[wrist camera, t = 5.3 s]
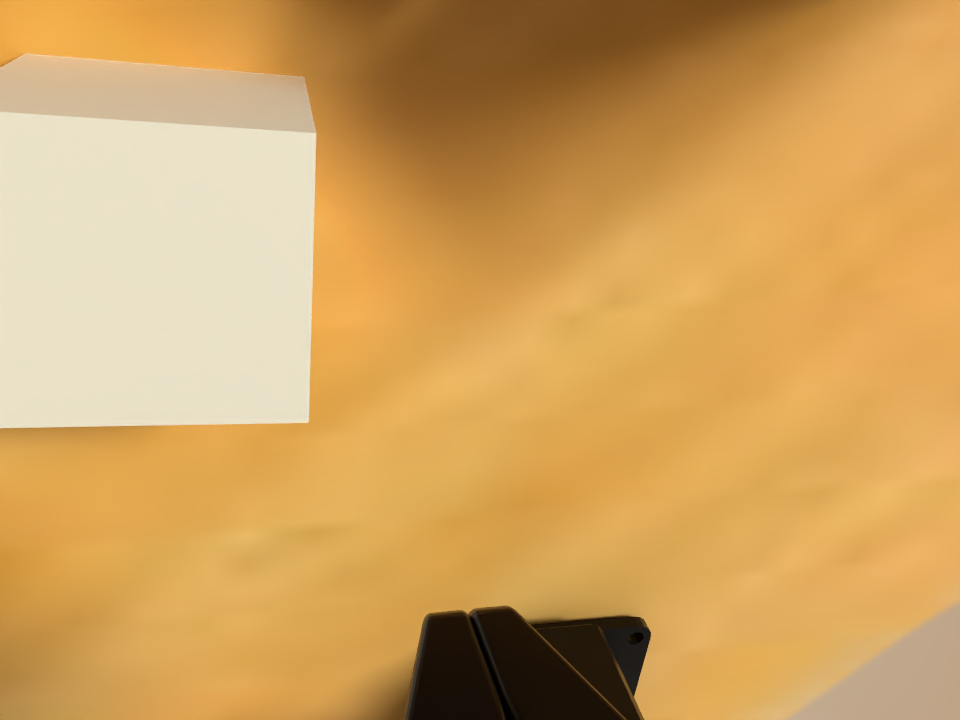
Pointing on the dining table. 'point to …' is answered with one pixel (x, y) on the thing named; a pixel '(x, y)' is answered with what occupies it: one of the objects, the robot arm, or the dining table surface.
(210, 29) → the dining table surface
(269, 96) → the cream block
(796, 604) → the dining table surface
